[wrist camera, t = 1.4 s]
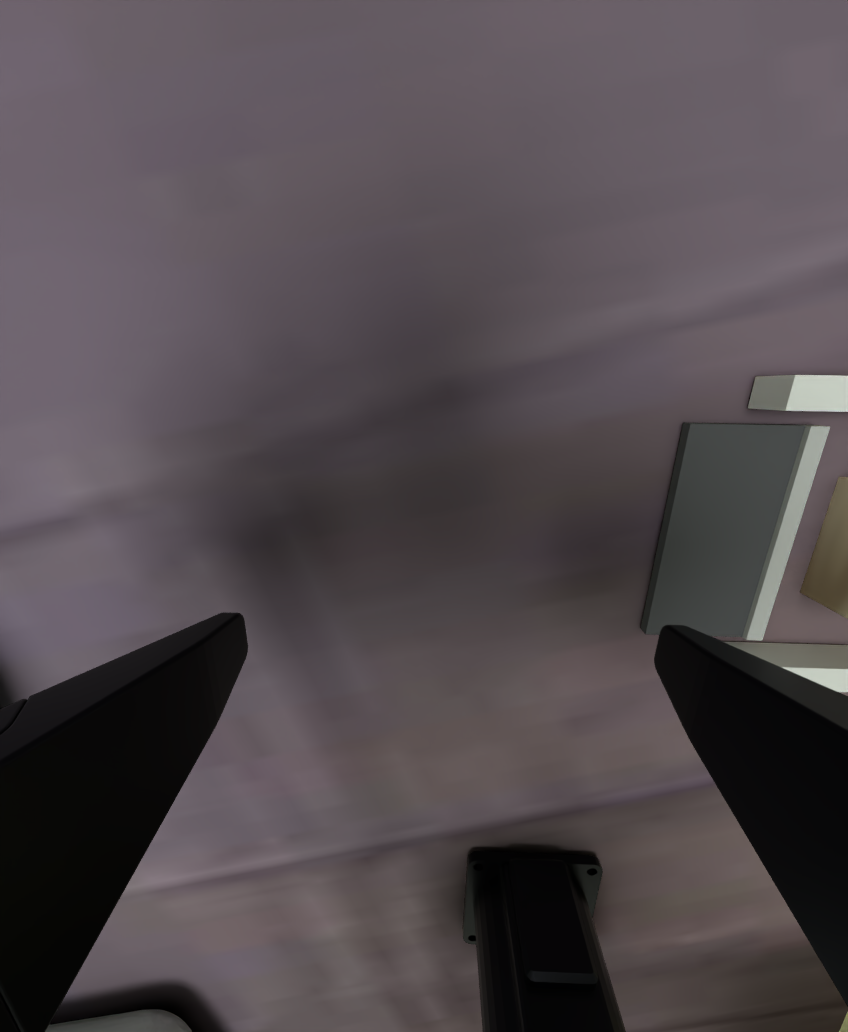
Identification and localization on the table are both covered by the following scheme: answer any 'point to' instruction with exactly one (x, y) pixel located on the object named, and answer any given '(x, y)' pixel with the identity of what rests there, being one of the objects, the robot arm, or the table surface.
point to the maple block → (831, 556)
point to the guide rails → (803, 393)
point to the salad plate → (126, 1023)
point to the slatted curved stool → (845, 1024)
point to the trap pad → (730, 525)
